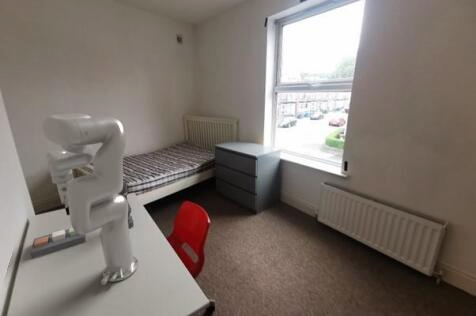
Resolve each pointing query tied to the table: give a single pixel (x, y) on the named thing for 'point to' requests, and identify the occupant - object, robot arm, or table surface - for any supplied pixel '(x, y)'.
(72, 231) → the sage key
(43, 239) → the terracotta key
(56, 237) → the cream key
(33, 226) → the table surface
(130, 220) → the candle holder
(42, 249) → the keypad
